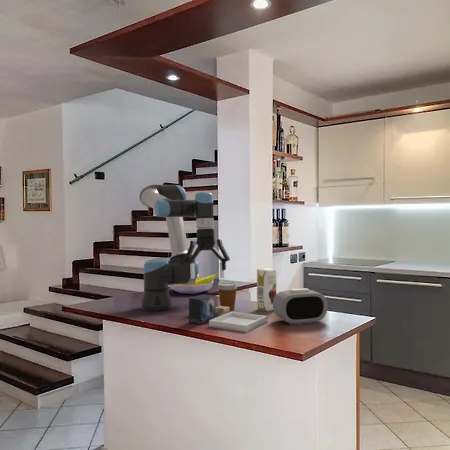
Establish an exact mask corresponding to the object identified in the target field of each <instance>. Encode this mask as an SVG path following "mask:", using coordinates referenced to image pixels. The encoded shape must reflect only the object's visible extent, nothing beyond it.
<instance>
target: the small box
mask: <svg viewBox="0 0 450 450" xmlns="http://www.w3.org/2000/svg"><path fill="white" fill-rule="evenodd" d="M214 318H215V295H211V294H204V293H202V294H197V295H195V296H191V297H188V323H190V324H195V325H204V324H206V323H209V320H212V319H214Z"/></svg>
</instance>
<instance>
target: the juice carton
mask: <svg viewBox="0 0 450 450" xmlns="http://www.w3.org/2000/svg"><path fill="white" fill-rule="evenodd" d="M276 294H277V268H271V267H270V268H269V267H264V268H262V269H258V268H257V269H256V309H257V311H264V312H270V311H274V310H273V300H274V297H275V296H276Z"/></svg>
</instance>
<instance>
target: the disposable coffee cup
mask: <svg viewBox="0 0 450 450" xmlns="http://www.w3.org/2000/svg"><path fill="white" fill-rule="evenodd" d="M217 289H218V298H219V303H220V304H219V306H226V307H230V312H233V311H235V307H236V306H235V304H236V295H237V289H238V284H237V283H236V282H219V283H218V284H217Z"/></svg>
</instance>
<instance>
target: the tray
mask: <svg viewBox="0 0 450 450" xmlns="http://www.w3.org/2000/svg"><path fill="white" fill-rule="evenodd" d="M208 323H209V324H208V327H210V328H216V329H222V330H230V331H235V332H242V333H248V332H251V331H252V330H255V329H256V328H258V327H260V326H262V325H264V324H266V323H268V315H263V314H261V315H260V314H254V313H246V312H245V313H244V312H239V311H237V312H236V311H230V312H229V313H227V314H224V315H222V316H219V317H217V318H215V317H214V319H212V320H209V322H208Z"/></svg>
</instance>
